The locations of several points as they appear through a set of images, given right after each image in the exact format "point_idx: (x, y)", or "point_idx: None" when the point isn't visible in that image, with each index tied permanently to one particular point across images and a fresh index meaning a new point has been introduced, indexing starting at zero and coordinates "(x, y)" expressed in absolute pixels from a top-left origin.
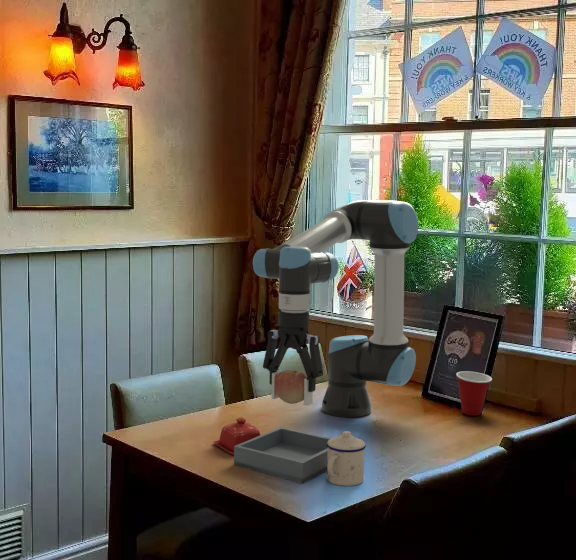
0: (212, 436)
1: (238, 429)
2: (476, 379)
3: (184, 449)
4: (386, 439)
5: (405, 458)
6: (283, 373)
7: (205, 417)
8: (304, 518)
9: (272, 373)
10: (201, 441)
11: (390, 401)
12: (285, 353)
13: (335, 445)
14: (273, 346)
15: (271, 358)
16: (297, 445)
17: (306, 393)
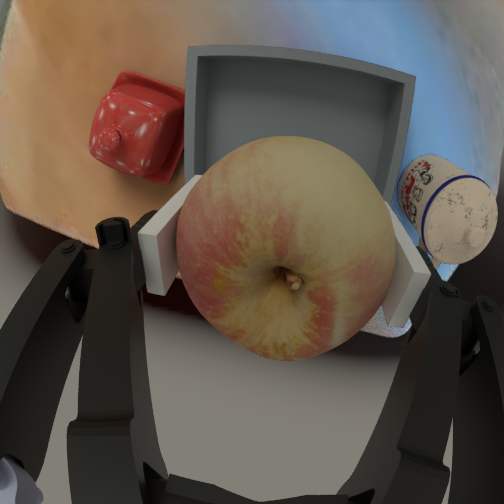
0: (69, 107)
1: (129, 161)
2: None
3: (85, 194)
4: None
5: (483, 29)
6: (250, 349)
7: (18, 48)
8: (394, 336)
9: (152, 291)
10: (74, 143)
11: None
12: (131, 366)
13: (446, 261)
14: (35, 404)
15: (66, 312)
16: (260, 60)
17: None
